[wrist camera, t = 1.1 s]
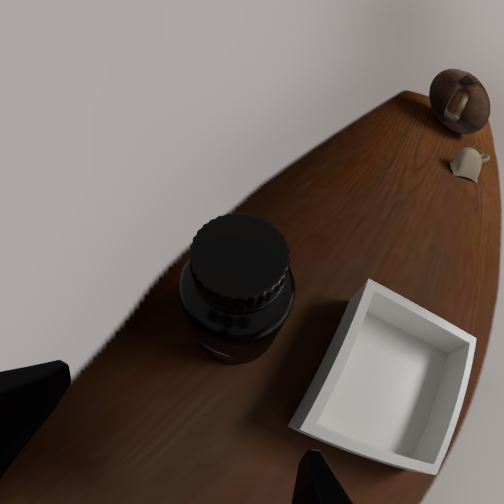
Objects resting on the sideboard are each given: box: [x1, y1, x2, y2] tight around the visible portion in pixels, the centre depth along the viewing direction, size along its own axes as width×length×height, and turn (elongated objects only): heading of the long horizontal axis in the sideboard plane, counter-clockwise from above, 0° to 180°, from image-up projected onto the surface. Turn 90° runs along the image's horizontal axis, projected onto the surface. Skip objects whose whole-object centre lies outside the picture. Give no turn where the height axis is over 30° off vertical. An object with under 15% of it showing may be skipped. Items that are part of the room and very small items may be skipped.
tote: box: [288, 279, 476, 475], centre depth 19 cm, size 13×13×4 cm
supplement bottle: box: [179, 213, 295, 364], centre depth 18 cm, size 7×7×12 cm
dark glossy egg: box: [429, 69, 490, 134], centre depth 42 cm, size 15×15×15 cm
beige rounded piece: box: [450, 147, 490, 183], centre depth 37 cm, size 4×8×5 cm, turn 86°
